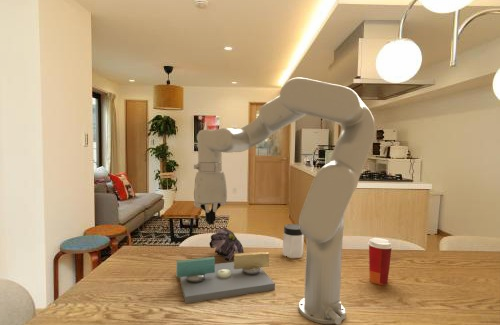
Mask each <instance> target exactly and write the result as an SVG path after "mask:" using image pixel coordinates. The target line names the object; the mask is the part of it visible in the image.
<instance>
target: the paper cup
mask: <svg viewBox="0 0 500 325" xmlns="http://www.w3.org/2000/svg"><path fill="white" fill-rule="evenodd" d="M367 245H368V260H369V261H368V267H369V269H368V270H369V281H370V282H371V284H375V285H379V286H386V285H387V284H388V282H389V274H390V268H391V267H390V264H391V256H392V249H393V247H394V246H393V245H392V243H391V240H388V239H385V238H379V237H373V238H370V239H369V240H368V242H367ZM385 284H386V285H385Z"/></svg>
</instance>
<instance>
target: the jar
mask: <svg viewBox="0 0 500 325" xmlns="http://www.w3.org/2000/svg"><path fill="white" fill-rule="evenodd" d="M304 238H305V236H304V235H303V234H302V232H301V230H300V227H299V224H295V223H292V224H291V223H289V224H285V225H284V227H283V235H282V256H284V257H286V256H287V258H289V259H301V258H302V257H303V256H304V241H305V240H304Z"/></svg>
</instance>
